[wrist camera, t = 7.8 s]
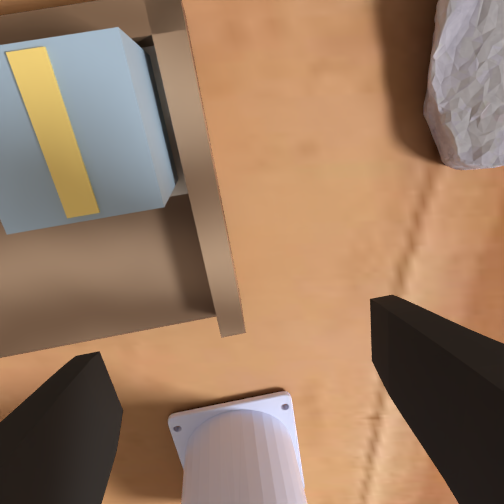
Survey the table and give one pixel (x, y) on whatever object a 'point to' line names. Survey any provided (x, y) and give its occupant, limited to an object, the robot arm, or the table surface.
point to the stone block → (467, 83)
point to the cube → (80, 131)
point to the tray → (127, 225)
